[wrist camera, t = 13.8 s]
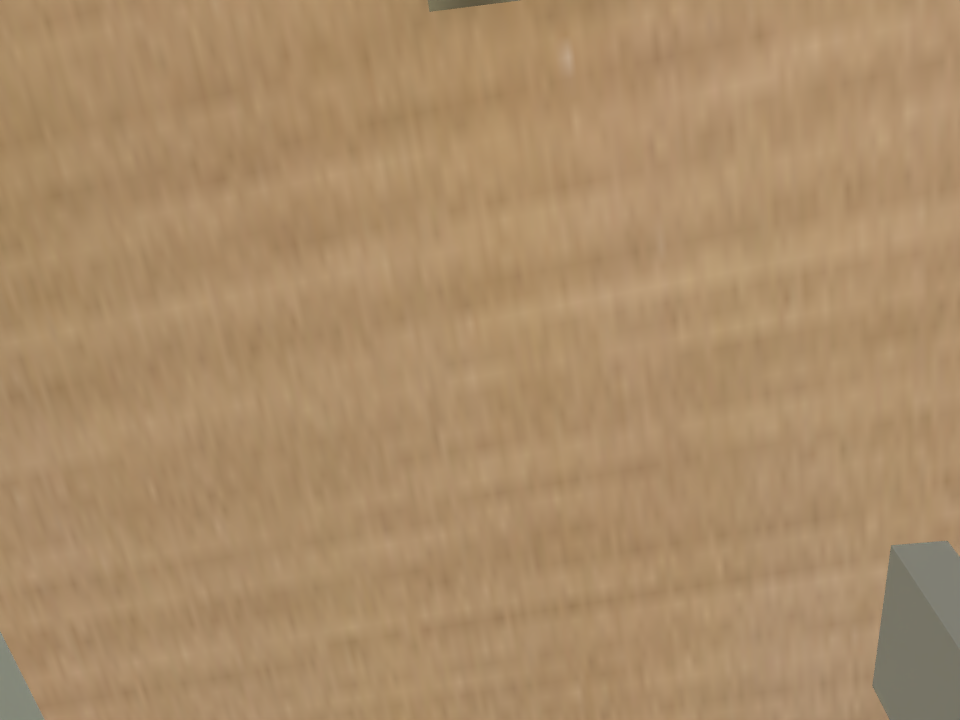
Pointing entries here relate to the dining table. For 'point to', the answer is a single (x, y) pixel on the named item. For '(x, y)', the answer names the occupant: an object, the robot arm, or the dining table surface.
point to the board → (459, 3)
